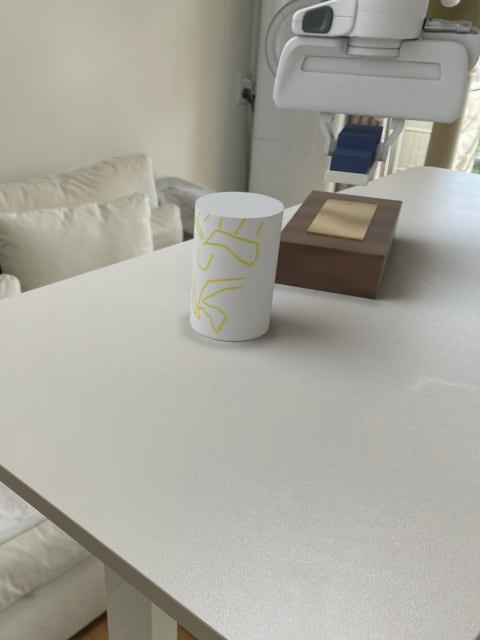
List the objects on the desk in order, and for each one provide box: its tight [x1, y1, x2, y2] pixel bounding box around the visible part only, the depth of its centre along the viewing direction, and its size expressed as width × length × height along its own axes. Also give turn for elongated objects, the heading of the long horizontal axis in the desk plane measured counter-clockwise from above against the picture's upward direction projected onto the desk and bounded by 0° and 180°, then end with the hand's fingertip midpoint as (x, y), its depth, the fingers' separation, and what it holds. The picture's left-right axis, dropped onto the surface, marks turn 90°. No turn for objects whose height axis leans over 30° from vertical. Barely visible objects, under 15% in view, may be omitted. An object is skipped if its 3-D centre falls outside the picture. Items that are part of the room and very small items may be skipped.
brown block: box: [274, 189, 403, 300], centre depth 81 cm, size 22×12×5 cm, turn 158°
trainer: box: [324, 123, 384, 187], centre depth 75 cm, size 11×5×4 cm, turn 158°
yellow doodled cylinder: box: [189, 191, 285, 342], centre depth 63 cm, size 8×8×12 cm
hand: (354, 157), depth 75 cm, fingers closed on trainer, 4 cm apart
